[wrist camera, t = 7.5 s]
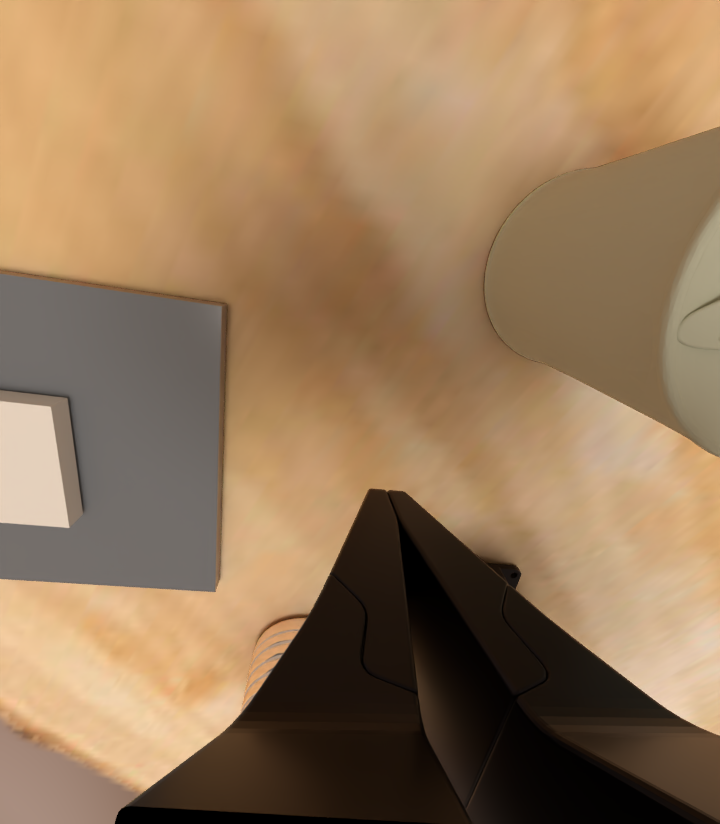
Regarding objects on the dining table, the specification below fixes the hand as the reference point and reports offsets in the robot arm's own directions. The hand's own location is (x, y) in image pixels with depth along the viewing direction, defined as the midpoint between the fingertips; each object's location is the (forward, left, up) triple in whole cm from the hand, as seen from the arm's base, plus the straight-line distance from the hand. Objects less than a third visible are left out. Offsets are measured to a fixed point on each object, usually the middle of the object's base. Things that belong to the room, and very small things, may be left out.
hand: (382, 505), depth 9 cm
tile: (-7, +14, -11) cm, 19 cm away
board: (-7, +15, -12) cm, 20 cm away
